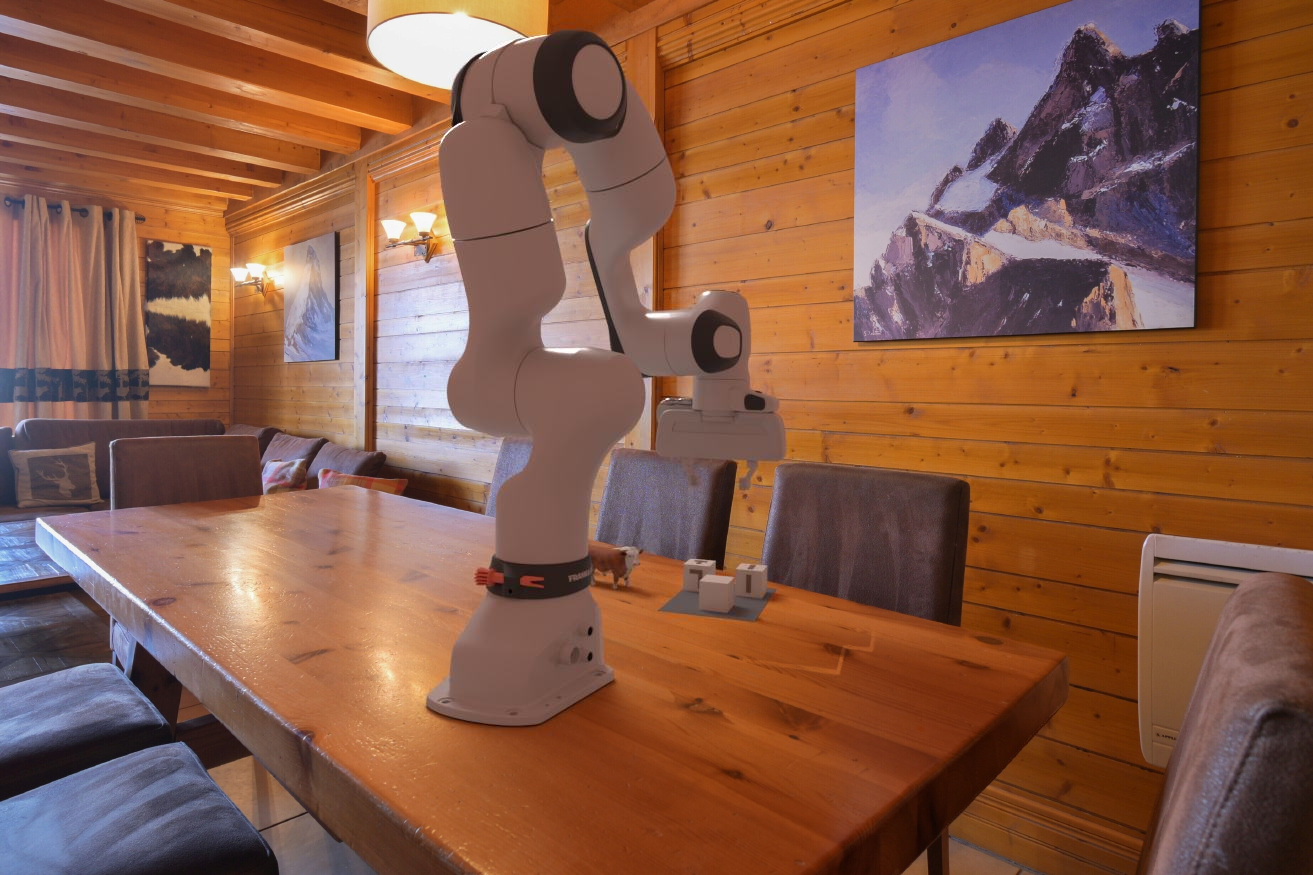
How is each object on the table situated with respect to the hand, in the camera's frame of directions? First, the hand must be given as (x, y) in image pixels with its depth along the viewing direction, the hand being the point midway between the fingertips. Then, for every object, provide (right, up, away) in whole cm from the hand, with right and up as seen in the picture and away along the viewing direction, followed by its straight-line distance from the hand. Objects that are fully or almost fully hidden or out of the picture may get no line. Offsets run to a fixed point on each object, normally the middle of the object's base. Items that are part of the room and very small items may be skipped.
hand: (718, 488), depth 114 cm
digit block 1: (+6, -18, +9) cm, 22 cm away
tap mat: (+1, -19, +6) cm, 20 cm away
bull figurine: (-17, -19, +13) cm, 29 cm away
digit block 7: (-2, -18, +12) cm, 22 cm away
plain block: (0, -19, +1) cm, 19 cm away
